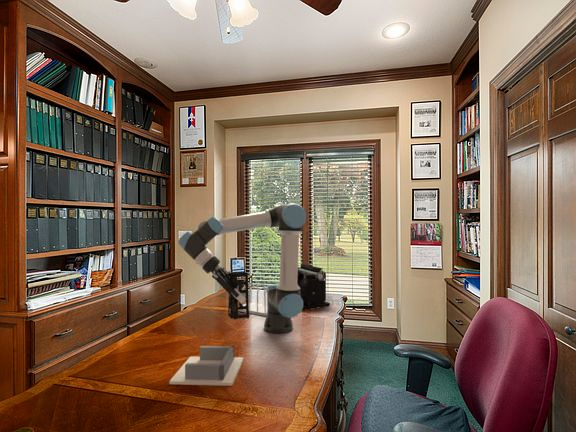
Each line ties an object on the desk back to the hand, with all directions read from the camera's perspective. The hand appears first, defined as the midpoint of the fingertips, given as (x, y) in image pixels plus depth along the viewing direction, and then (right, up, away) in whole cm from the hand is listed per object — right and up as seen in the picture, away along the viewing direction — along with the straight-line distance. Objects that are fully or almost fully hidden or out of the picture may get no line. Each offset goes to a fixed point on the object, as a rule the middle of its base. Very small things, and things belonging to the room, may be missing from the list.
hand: (245, 299), depth 136 cm
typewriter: (+27, -24, +79) cm, 87 cm away
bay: (-11, -22, -17) cm, 30 cm away
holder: (-4, -8, 0) cm, 9 cm away
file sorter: (-1, -24, +64) cm, 68 cm away
